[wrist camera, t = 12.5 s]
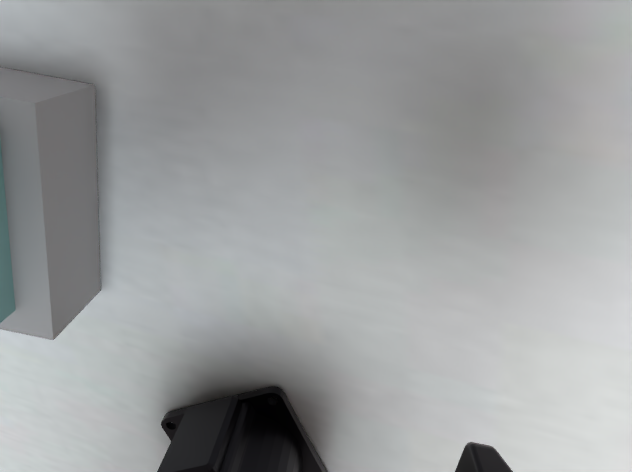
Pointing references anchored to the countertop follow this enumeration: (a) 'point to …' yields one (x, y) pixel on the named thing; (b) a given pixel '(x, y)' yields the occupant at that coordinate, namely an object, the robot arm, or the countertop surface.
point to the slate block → (49, 198)
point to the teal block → (5, 256)
